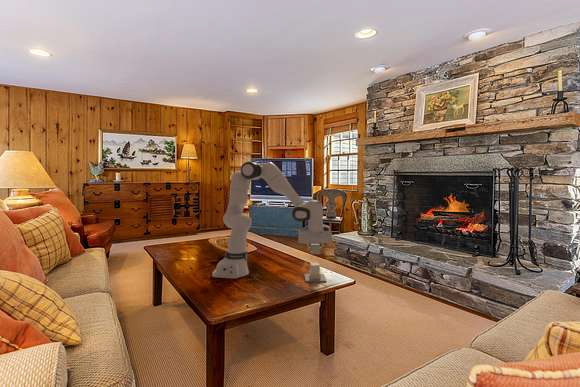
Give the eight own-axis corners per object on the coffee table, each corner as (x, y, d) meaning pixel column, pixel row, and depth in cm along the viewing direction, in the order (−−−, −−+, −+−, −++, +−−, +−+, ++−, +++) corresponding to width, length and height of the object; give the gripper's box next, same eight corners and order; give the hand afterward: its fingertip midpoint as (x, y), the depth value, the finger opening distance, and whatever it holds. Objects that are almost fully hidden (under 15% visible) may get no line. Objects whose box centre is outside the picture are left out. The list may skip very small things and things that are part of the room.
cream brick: (311, 273, 182) (311, 265, 181) (310, 270, 187) (310, 262, 186) (319, 273, 182) (319, 265, 181) (318, 270, 187) (318, 262, 186)
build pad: (305, 282, 179) (305, 275, 178) (304, 275, 191) (304, 269, 190) (326, 282, 179) (326, 275, 178) (323, 275, 191) (323, 269, 190)
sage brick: (311, 254, 181) (311, 245, 181) (310, 251, 186) (310, 243, 186) (320, 254, 181) (320, 245, 181) (319, 251, 186) (319, 243, 186)
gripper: (298, 228, 179) (298, 251, 180) (333, 228, 179) (333, 251, 180) (297, 226, 185) (297, 249, 187) (331, 226, 186) (331, 248, 187)
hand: (315, 250), depth 183 cm, fingers closed on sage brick, 5 cm apart
